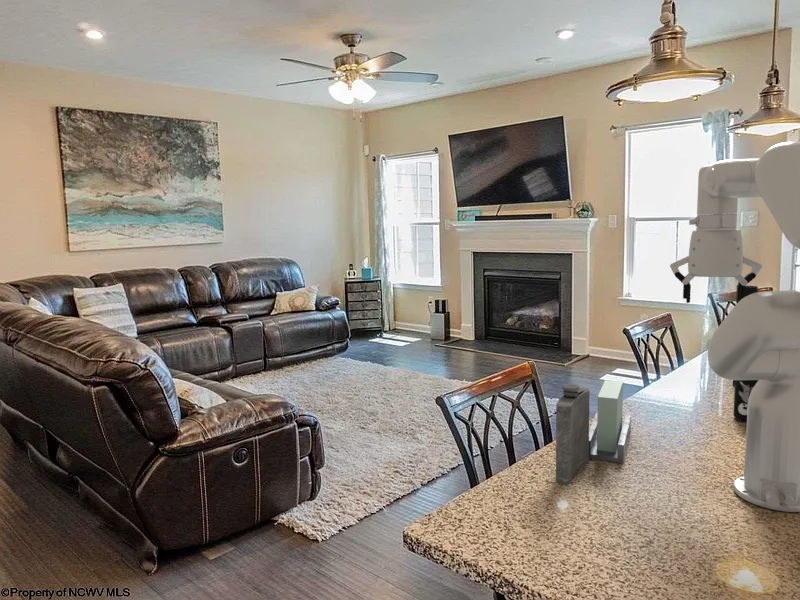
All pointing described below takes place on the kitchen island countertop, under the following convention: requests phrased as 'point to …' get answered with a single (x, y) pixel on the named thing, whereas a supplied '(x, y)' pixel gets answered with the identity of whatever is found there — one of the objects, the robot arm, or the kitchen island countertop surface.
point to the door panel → (609, 415)
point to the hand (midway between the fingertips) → (712, 302)
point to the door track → (622, 443)
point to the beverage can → (742, 398)
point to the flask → (572, 432)
